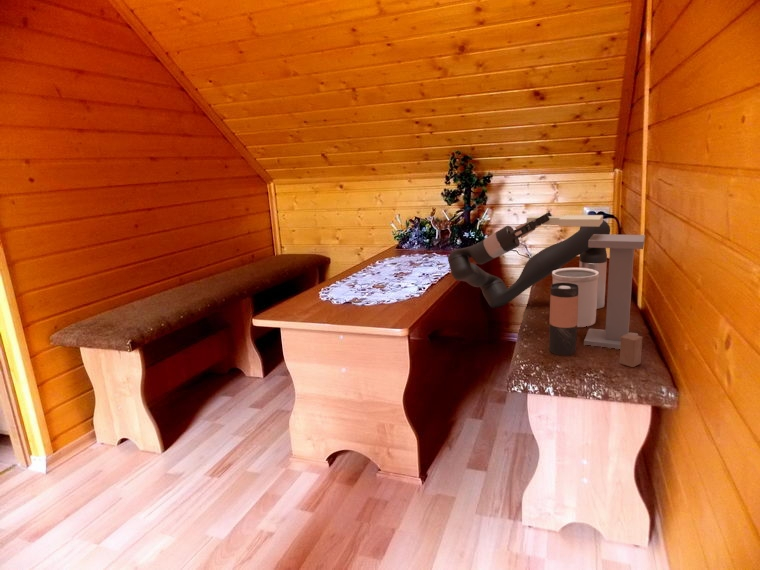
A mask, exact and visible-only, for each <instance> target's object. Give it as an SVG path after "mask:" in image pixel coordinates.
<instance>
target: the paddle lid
mask: <svg viewBox="0 0 760 570" xmlns="http://www.w3.org/2000/svg"><path fill="white" fill-rule="evenodd" d="M541 216H542V215H541ZM541 216H539V215H536V216H535V215H534V216H533V215H529V216H528V217H526V222H531V221H532V220H535V221H536V219H537V218H539V217H541ZM548 217H549V219H550V220H549V221H547V222H545V223H543V224H542V225H547V226H549V225H550V226H551V225H554V226H555V225H557V226H558V227H580V226H596V227H599V226H600V225H601V224H602V222H603V220H604V215H603V214H564V215H563V216H562V215H560V216H559V215H557V216H554V215H552V216H548Z"/></svg>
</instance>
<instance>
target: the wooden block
mask: <svg viewBox="0 0 760 570" xmlns="http://www.w3.org/2000/svg"><path fill="white" fill-rule="evenodd" d="M642 349H643V336H641V335H639V334H638V335H634V334H630V333H629V334H626V335H624V336H622V337H621V346H620V350H619V364H621V365H623V366H627V367H630V368H634V367H636V366H639V365H640V364H641V363H642V362H641V361H642V360H641V359H642Z"/></svg>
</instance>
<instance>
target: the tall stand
mask: <svg viewBox="0 0 760 570" xmlns="http://www.w3.org/2000/svg"><path fill="white" fill-rule="evenodd" d="M645 238H646V234H613V233H612V234H611V233H610V234H593V235H592V237H591V238H590V239H589V240H588V247H591V248H606V249H609V259H608V260H609V261H608V262H609V263H608V275H607V276H608V279H607V293H606V294H607V297H606V314H605V315H606V317H605V329H601V328H598V329H597V328H590V327H589V328H588V330H587V332H586V336H585V338H584V340H583V346H585V345H591V346H590V347H594V346H601V347H600V348H602V347H608V348H607V349H611V348H615V349H614V350H619V349H620V346H621V337H622V336H624V335H626V334H629V333H630V334H634V335H638V336H639V333H637V332H631V331H630V319H631V317H630V316H631V315H630V314H631V301H632V300H631V299H632V287H633V286H632V285H633V272H634V258H635V257H634V256H635V254H634V253H635V250H643V249H644V247H645V240H646V239H645ZM629 331H630V332H629Z"/></svg>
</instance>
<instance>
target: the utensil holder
mask: <svg viewBox="0 0 760 570" xmlns="http://www.w3.org/2000/svg"><path fill="white" fill-rule="evenodd" d="M598 277H599V272H598V271H596V270H593V269H588V268H579V267H564V268H562V267H561V268H559V269H557V270H554V271H553V272H552V274H551V278H552V284H555V283H572V284H576V285H578V287H579V289H578V324H577V328H584V327H585V328H586V326H587V327H590V326H593V325H595V324H596V321H597V287H598Z"/></svg>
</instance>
